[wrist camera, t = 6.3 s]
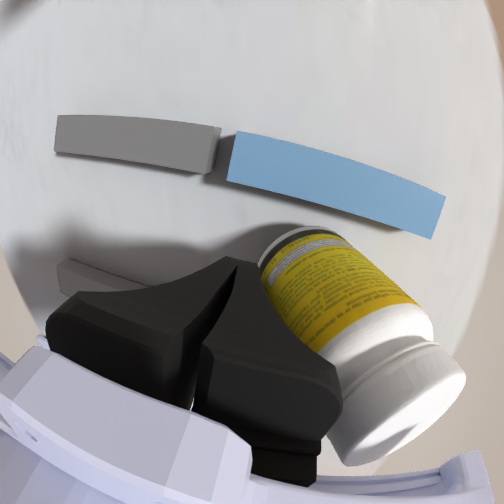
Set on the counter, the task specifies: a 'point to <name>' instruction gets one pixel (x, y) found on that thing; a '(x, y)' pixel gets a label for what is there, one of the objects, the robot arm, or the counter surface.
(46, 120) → the counter surface
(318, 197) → the grey and blue rails
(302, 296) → the supplement bottle
